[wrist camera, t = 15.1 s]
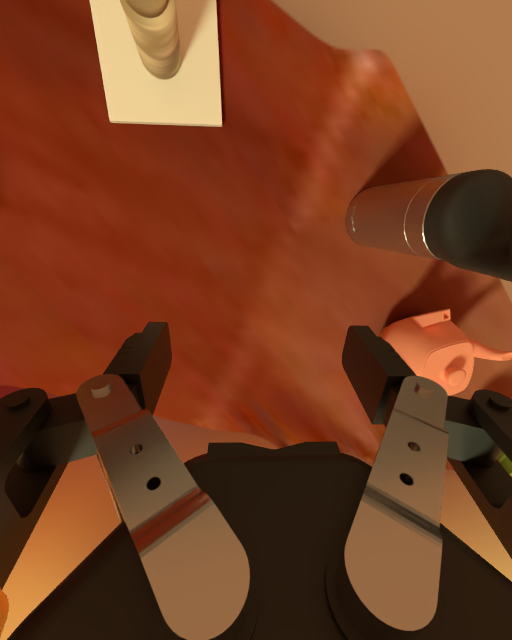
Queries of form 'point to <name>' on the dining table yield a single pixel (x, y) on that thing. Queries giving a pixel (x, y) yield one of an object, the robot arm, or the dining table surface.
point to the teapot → (438, 349)
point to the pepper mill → (155, 35)
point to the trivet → (150, 92)
